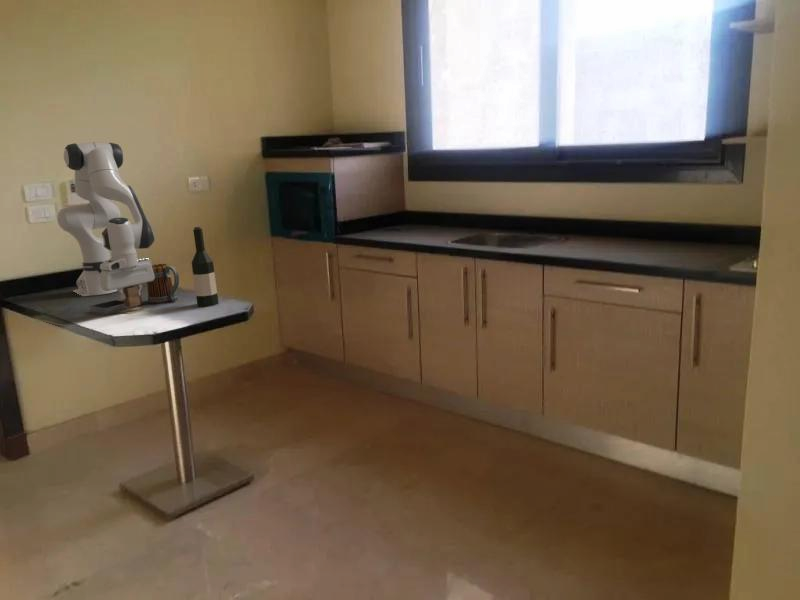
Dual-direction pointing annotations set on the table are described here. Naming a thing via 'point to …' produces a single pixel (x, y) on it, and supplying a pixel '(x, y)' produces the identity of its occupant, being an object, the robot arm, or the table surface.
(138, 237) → the robot arm
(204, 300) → the wine bottle
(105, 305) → the tin
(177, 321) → the table surface
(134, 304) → the walnut block
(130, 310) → the light wooden board
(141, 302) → the terracotta pot
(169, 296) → the mug
